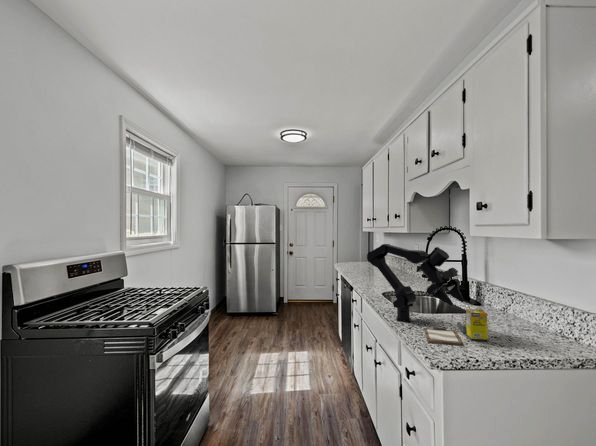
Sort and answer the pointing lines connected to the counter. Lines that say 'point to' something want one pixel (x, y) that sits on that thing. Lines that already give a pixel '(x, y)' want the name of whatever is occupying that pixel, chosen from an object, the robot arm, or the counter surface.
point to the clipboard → (442, 336)
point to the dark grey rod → (462, 328)
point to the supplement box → (476, 325)
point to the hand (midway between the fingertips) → (457, 303)
